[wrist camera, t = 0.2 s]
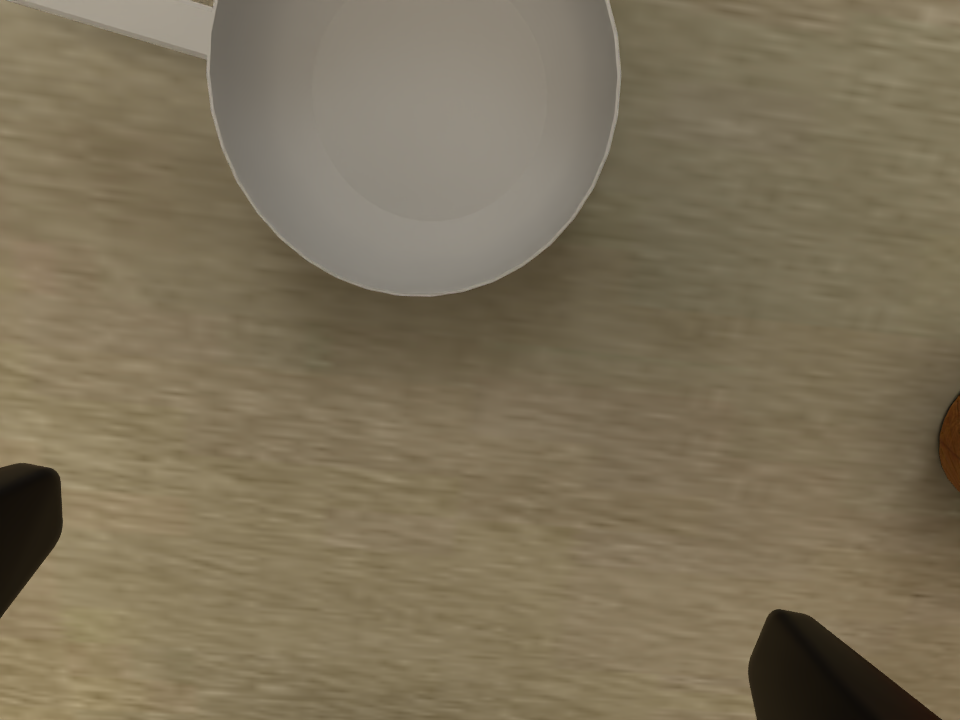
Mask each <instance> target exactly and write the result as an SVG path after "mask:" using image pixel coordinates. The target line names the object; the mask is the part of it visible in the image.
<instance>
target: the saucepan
mask: <svg viewBox="0 0 960 720" xmlns="http://www.w3.org/2000/svg"><path fill="white" fill-rule="evenodd" d="M7 1H10V2H14V3H17V4H20V5H24V6H27V7H30V8H34V9H37V10H40V11H44V12H47V13H51V14H54V15H57V16H61V17H64V18H67V19H71V20H74V21H78V22H81V23H84V24H88V25H91V26H94V27H98V28H101V29H104V30H108V31H111V32H115V33H118V34H121V35H125V36H128V37H131V38H135V39H138V40H142V41H145V42H148V43H152V44H155V45H158V46H162V47H165V48H168V49H172V50H175V51H179V52H182V53H185V54H189V55H192V56H195V57H199V58H202V59H206V60H207V67H206V74H207V82H208V91H209V99H210V107H211V113H212V117H213V120H214V124H215V127H216V131H217V134H218V138H219V142H220V145H221V148H222V151H223V153H224V155H225V157H226V159H227V162H228V164H229V166H230V168H231V171H232V173H233V175H234V177H235V179H236V182H237V183H238V185H239V186H240V188H241V189H242V191H243V192H244V194H245V196H246V197H247V199H248V200H249V202H250V203H251V205H252V206H253V208H254V209H255V211H256V212H257V214H258V215H259V216H260V217H261V218H262V219H263V220H264V221H265V223H266V224H267V225H268V226H269V227H270V228H271V229H272V230H273V232H274V233H275V234H276V235H277V236H278V237H279V238H280V239H281V240H282V241H283V242H285V243H286V244H287V245H288V246H289V247H291V248H292V249H293V250H294V251H296V252H297V253H298V254H299V255H300V256H302V257H303V258H304V259H305V260H306V261H308V262H310V263H312V264H313V265H315V266H317V267H318V268H320V269H322V270H324V271H325V272H327V273H329V274H330V275H332V276H334V277H336V278H338V279H341V280H343V281H346V282H349V283H351V284H354V285H356V286H359V287H362V288H364V289H367V290H372V291H377V292H382V293H387V294H392V295H397V296H425V297H432V296H439V295H446V294H453V293H460V292H465V291H468V290H471V289H474V288H477V287H480V286H483V285H486V284H489V283H492V282H495V281H496V280H498V279H500V278H502V277H504V276H506V275H508V274H510V273H511V272H513V271H515V270H517V269H519V268H521V267H523V266H524V265H525V264H527V263H528V262H529V261H531V260H532V259H533V258H534V257H536V256H537V255H538V254H539V253H541V252H542V251H543V250H545V249H546V248H547V247H548V246H550V245H551V244H552V243H553V242H554V240H555V239H556V238H557V237H558V236H559V235H560V234H561V233H562V232H563V231H564V229H565V228H566V227H567V226H568V225H569V224H570V223H571V222H572V221H573V219H574V218H575V217H576V215H577V214H578V212H579V210H580V209H581V207H582V206H583V204H584V203H585V201H586V200H587V198H588V196H589V195H590V193H591V192H592V190H593V189H594V187H595V184H596V182H597V179H598V177H599V175H600V172H601V170H602V168H603V165H604V163H605V161H606V158H607V156H608V154H609V150H610V146H611V142H612V138H613V134H614V130H615V126H616V122H617V117H618V109H619V97H620V84H621V67H620V55H619V43H618V33H617V29H616V25H615V21H614V17H613V14H612V10H611V6H610V2H609V0H214V4H213V7H211V6H207V5H204V4H201V3H197V2H194V1H191V0H7Z"/></svg>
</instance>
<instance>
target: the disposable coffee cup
mask: <svg viewBox="0 0 960 720" xmlns="http://www.w3.org/2000/svg"><path fill="white" fill-rule="evenodd" d="M939 454H940V460H941V465H942V467H943V469H944V472H945V474H946V476H947V478H948V479H949V481H950V482H951V483H952V484H953V486H954V487H955V488H956V489H957V490H958V491H959V492H960V395H959V396H958V397H957V399H956V400H955V402H954V403H953V404H952V406H951V407H950V409H949V411H948V413H947V415H946V417H945V419H944V423H943V426H942V429H941V433H940V447H939Z"/></svg>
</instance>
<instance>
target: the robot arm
mask: <svg viewBox="0 0 960 720" xmlns="http://www.w3.org/2000/svg"><path fill="white" fill-rule="evenodd" d="M62 526H63V519H62V499H61V481H60V477H59V475H58V473H57V472H56V471H55V470H54V469H52V468H48V467H43V466H37V465H32V464H27V463H18V464H13V465H9V466H5V467H1V468H0V618H1V617H2V615H3V614H4V613H5V611H6V610H7V609H8V607H9V606H10V605H11V603H12V602H13V601H14V599H15V598H16V597H17V595H18V594H19V593H20V591H21V590H22V589H23V588H24V586H25V585H26V584H27V582H28V581H29V580H30V578H31V577H32V576H33V574H34V573H35V572H36V570H37V569H38V568H39V566H40V565H41V564H42V562H43V561H44V560H45V559H46V557H47V556H48V555H49V553H50V552H51V551H52V549H53V548H54V547H55V545H56V543H57V542H58V540H59V538H60V535H61V532H62ZM748 676H749V683H750V688H751V693H752V698H753V702H754V707H755V712H756V717H757V720H942V719H940V718H939V717H938V716H937V715H935V714H934V713H933V712H932V711H930V710H929V709H928V708H926V707H925V706H924V705H923V704H921V703H920V702H919V701H918V700H916V699H915V698H914V697H912V696H911V695H910V694H909V693H907V692H906V691H905V690H904V689H902V688H901V687H900V686H898V685H897V684H896V683H895V682H893V681H892V680H891V679H890V678H888V677H887V676H886V675H884V674H883V673H882V672H881V671H879V670H878V669H877V668H876V667H874V666H873V665H872V664H870V663H869V662H868V661H867V660H865V659H864V658H863V657H862V656H860V655H859V654H858V653H856V652H855V651H854V650H853V649H851V648H850V647H849V646H848V645H846V644H845V643H844V642H842V641H841V640H840V639H839V638H837V637H836V636H835V635H834V634H832V633H831V632H830V631H829V630H827V629H826V628H825V627H823V626H822V625H821V624H820V623H818V622H817V621H816V620H815V619H813V618H812V617H810V616H808V615H806V614H802V613H797V612H791V611H786V610H781V609H777V610H774V611H772V612H771V613H770V614H769V615H768V617H767V619H766V621H765V624H764V626H763V628H762V631H761V633H760V636H759V638H758V640H757V643H756V645H755V648H754V650H753V652H752V655H751V657H750V661H749V667H748Z"/></svg>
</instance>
